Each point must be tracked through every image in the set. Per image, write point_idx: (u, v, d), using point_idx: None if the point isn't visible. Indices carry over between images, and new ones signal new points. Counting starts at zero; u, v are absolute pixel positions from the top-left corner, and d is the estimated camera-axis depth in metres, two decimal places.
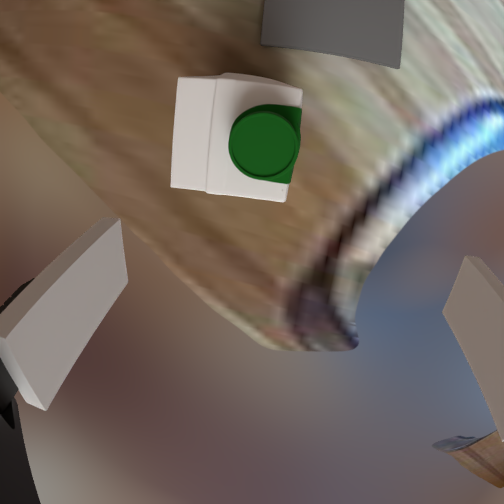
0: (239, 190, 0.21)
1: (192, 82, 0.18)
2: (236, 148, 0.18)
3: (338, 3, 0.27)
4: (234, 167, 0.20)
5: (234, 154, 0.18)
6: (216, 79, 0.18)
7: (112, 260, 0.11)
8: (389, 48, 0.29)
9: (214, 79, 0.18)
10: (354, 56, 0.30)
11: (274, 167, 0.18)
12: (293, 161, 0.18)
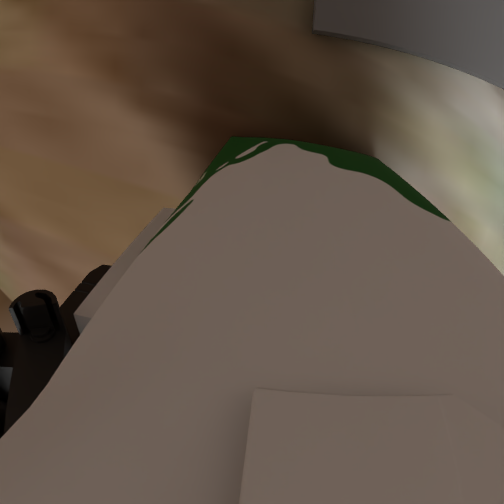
0: None
1: None
2: None
3: None
4: None
5: None
6: None
7: None
8: None
9: None
10: None
11: None
12: None
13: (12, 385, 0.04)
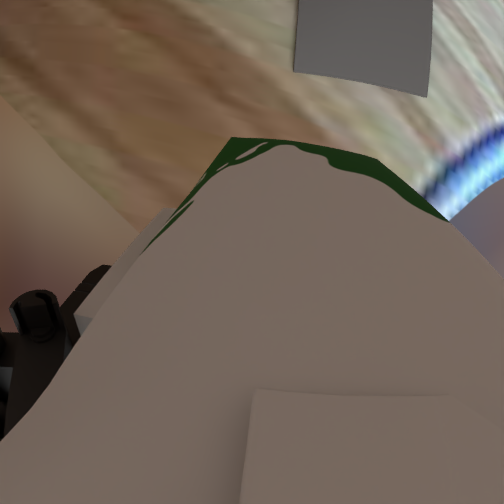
0: None
1: None
2: None
3: (370, 30, 0.28)
4: None
5: None
6: None
7: None
8: (418, 77, 0.30)
9: None
10: (385, 85, 0.31)
11: None
12: None
13: (12, 385, 0.04)
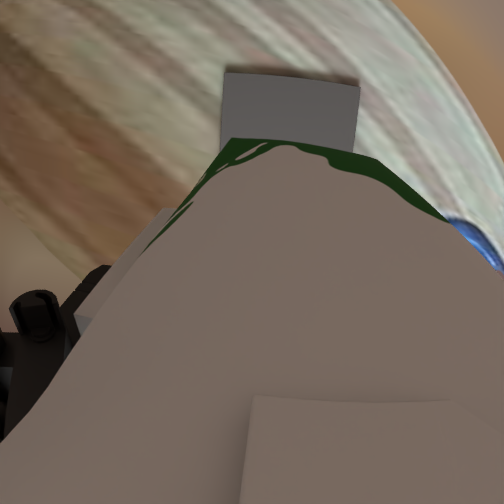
0: None
1: None
2: None
3: None
4: None
5: None
6: None
7: None
8: None
9: None
10: None
11: None
12: None
13: (12, 385, 0.04)
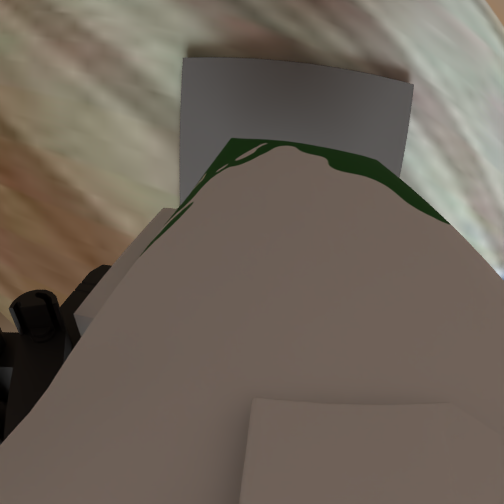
0: None
1: None
2: None
3: None
4: None
5: None
6: None
7: None
8: None
9: None
10: None
11: None
12: None
13: (12, 385, 0.04)
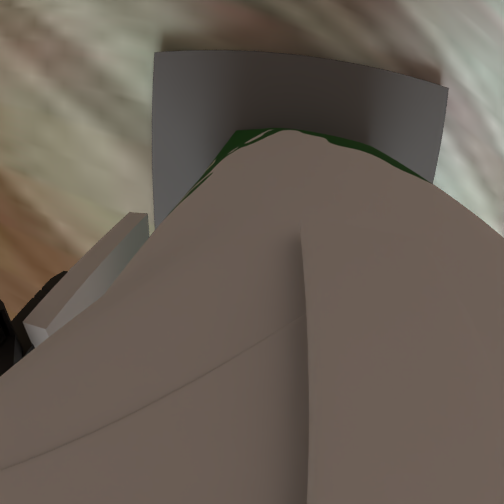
0: None
1: None
2: None
3: None
4: None
5: None
6: None
7: None
8: None
9: None
10: None
11: None
12: None
13: None
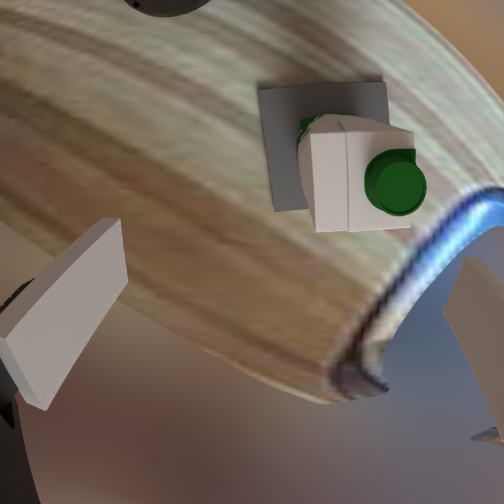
0: (375, 225, 0.23)
1: (324, 137, 0.21)
2: (380, 194, 0.20)
3: None
4: (370, 206, 0.23)
5: (379, 199, 0.20)
6: (345, 132, 0.21)
7: (112, 260, 0.11)
8: None
9: (343, 132, 0.21)
10: None
11: (410, 204, 0.20)
12: (423, 197, 0.20)
13: None
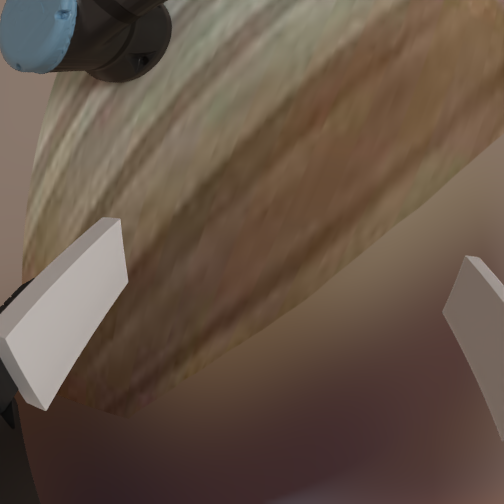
0: None
1: None
2: None
3: None
4: None
5: None
6: None
7: (112, 260, 0.11)
8: None
9: None
10: None
11: None
12: None
13: None
